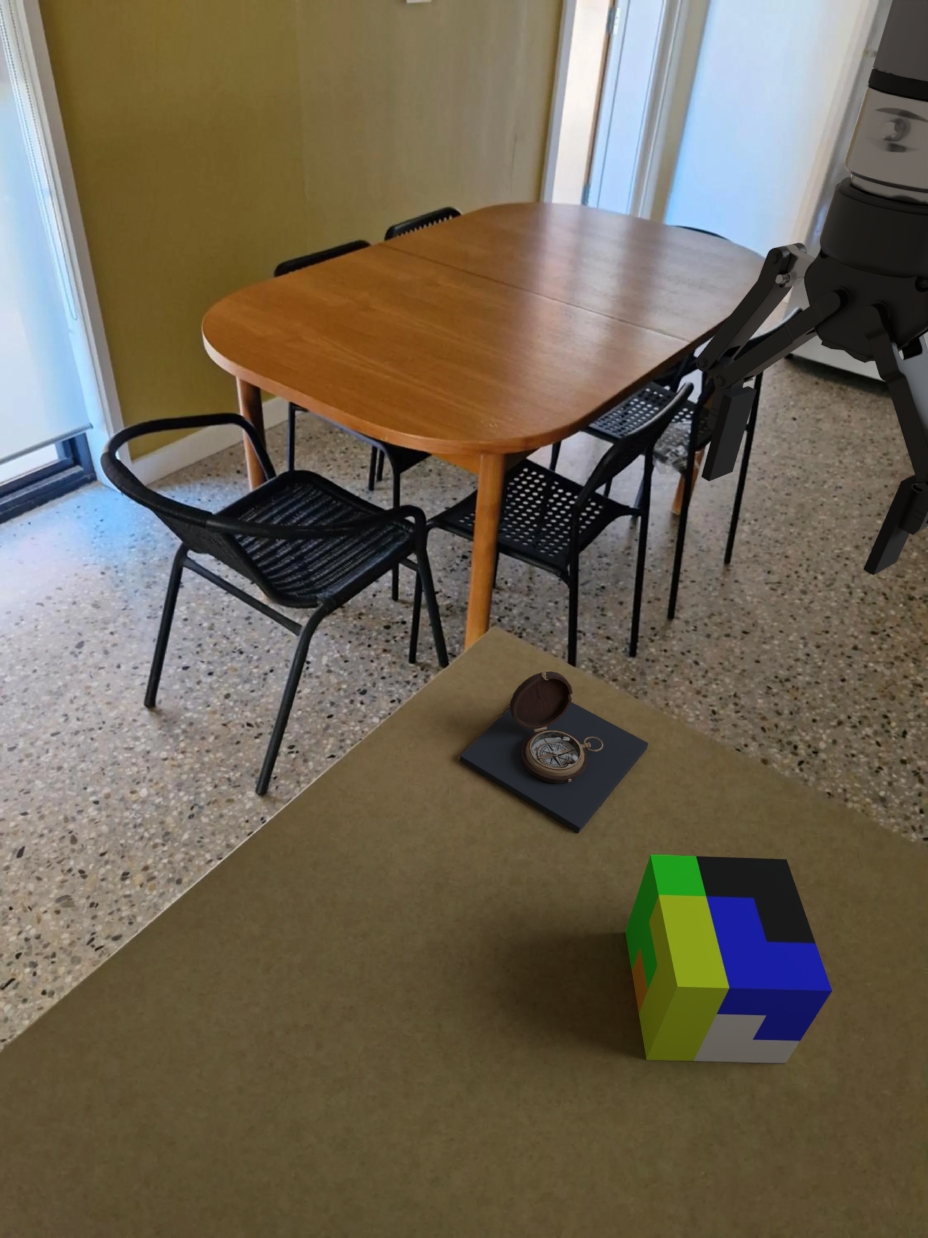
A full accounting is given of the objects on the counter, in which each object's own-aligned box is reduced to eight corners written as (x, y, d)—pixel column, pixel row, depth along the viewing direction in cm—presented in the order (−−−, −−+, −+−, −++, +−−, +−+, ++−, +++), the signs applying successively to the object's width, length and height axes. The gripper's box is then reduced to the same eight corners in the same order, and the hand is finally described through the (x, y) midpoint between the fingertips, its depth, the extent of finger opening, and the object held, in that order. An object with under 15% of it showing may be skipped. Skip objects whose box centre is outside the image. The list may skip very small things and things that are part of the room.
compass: (538, 793, 79) (548, 737, 75) (503, 732, 85) (511, 676, 80) (616, 772, 82) (631, 716, 77) (578, 714, 88) (589, 659, 83)
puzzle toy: (785, 1063, 63) (832, 991, 57) (646, 1060, 62) (677, 986, 56) (749, 935, 71) (786, 859, 64) (625, 931, 70) (650, 854, 64)
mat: (647, 748, 86) (648, 742, 85) (578, 833, 77) (579, 827, 77) (534, 688, 91) (535, 682, 91) (459, 761, 83) (459, 755, 82)
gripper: (690, 141, 54) (626, 454, 67) (1122, 262, 39) (929, 633, 52) (767, 133, 57) (692, 431, 71) (1187, 240, 43) (992, 592, 56)
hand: (792, 517), depth 61 cm, fingers open, 13 cm apart
